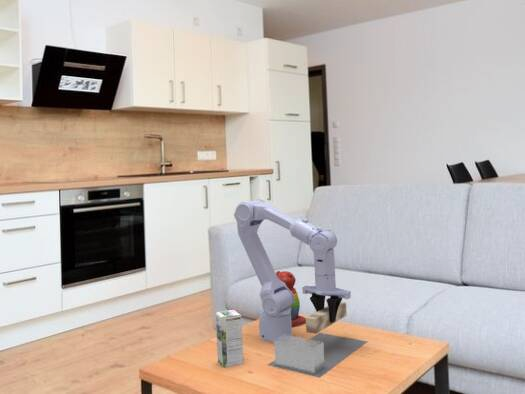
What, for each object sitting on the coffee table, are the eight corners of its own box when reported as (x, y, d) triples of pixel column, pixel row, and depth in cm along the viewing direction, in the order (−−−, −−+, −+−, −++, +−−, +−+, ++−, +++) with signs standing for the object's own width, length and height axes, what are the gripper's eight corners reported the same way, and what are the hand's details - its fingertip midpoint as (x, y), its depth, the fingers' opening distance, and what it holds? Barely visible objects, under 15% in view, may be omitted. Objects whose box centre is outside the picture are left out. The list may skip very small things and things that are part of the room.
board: (267, 368, 134) (267, 364, 134) (319, 336, 156) (319, 332, 156) (319, 381, 124) (319, 377, 124) (367, 344, 147) (367, 341, 146)
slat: (316, 333, 135) (315, 319, 135) (306, 332, 137) (305, 317, 137) (346, 315, 150) (346, 302, 150) (337, 314, 152) (337, 301, 151)
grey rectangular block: (275, 365, 133) (274, 340, 133) (285, 358, 137) (284, 334, 137) (314, 374, 126) (313, 348, 126) (324, 367, 130) (323, 341, 130)
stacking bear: (309, 322, 170) (306, 270, 169) (290, 330, 163) (287, 276, 162) (285, 316, 178) (282, 266, 177) (265, 324, 170) (262, 272, 169)
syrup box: (217, 364, 139) (214, 312, 138) (237, 359, 141) (234, 308, 140) (224, 371, 133) (220, 317, 132) (245, 366, 136) (241, 313, 135)
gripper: (295, 274, 144) (298, 321, 145) (341, 279, 135) (343, 328, 136) (308, 269, 149) (310, 314, 150) (353, 273, 141) (355, 321, 142)
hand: (327, 320), depth 143 cm, fingers closed on slat, 3 cm apart
